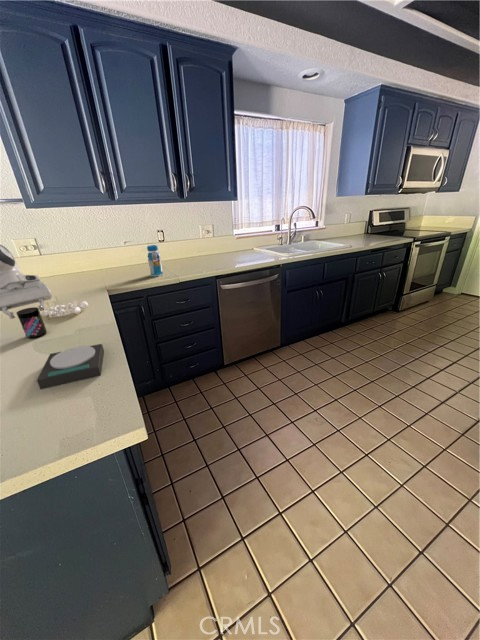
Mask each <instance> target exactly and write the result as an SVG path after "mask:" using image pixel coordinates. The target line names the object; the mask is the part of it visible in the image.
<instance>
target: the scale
mask: <svg viewBox="0 0 480 640" xmlns="http://www.w3.org/2000/svg"><path fill="white" fill-rule="evenodd" d="M104 355H105V349H104V345H103V343H99V344H93V345H80V346H75V347H71V348H68V349H65V350H62V351H57V352H52V353H49V355H48V358H47V359H46V361H45V363H44V365H43V367H42V369H41V371H40V373H39V375H38V377H37V379H36V382H37V384H38V386H39V389H40V390H43V389H47V388H52V387H56V386H61V385H65V384H69V383H73V382H77V381H82V380H83V381H84V380H87V379H91V378H95V377H100V376H101V375H102V369H103V363H104Z"/></svg>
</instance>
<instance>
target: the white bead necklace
mask: <svg viewBox="0 0 480 640" xmlns="http://www.w3.org/2000/svg"><path fill="white" fill-rule="evenodd" d="M77 302H78V301H77V300H75V301H73V302H69V303H66V305H64V304H59V305H57V304H55V305H54V306H50V307H48V308H45V309H44V310H43V311H42V313H40V314H41V317H44V318H45V317H48V316H49V318H55V317H64V316H67V315H69V314H75V315H79V314H80V313H81V312H82V311H81V310H86V309H88V308H89V303H88V301H84V300H83V301H80V302H79V304H77ZM67 309H68V310H67ZM71 309H72V310H71Z"/></svg>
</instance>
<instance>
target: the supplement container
mask: <svg viewBox="0 0 480 640" xmlns="http://www.w3.org/2000/svg"><path fill="white" fill-rule="evenodd" d="M41 314H42V313H41V311H40V310H39V308H38V306H37V307H35V306H33V307H27V308H22V309H20V310H18V311H16V316H17V318H18V320H19V322H20V325H21V328H22V330H23V333H24V334H25V337H26V338H27V339H30V340H33V339H38V338H42V337H44V336H45V335H46V334H47V333H48V331H47V327H46V325H45V322H44V320H43V316H42V315H41Z"/></svg>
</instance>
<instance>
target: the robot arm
mask: <svg viewBox="0 0 480 640" xmlns="http://www.w3.org/2000/svg"><path fill="white" fill-rule="evenodd" d="M52 297H53V294H52V291H51V290H50V288H49V287H48V285H47V284H46V283H45V282H44V281H42V280H41V278H40V276H38V275H36V274H23V273H22V272H21V270H20V266H19V264H18V263H17V261H16V259H15V258H14V256H13V254H12V253H11V251H10V250H9V249H8V248H7V247H5V246H3V244H0V312H2V313H3V314H5V315H6V316H8V317H9V319H11V320H12V319H15V318H16V315H15V314H14V311H8V310H12V309H15V308H19V307H25V306H28V305H33V304H37V303H39V304H40V305H37V308H38V309H39V311H40V312H43V311H45V307H44V305H45V302H46V301H50V300H51V299H52Z"/></svg>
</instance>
